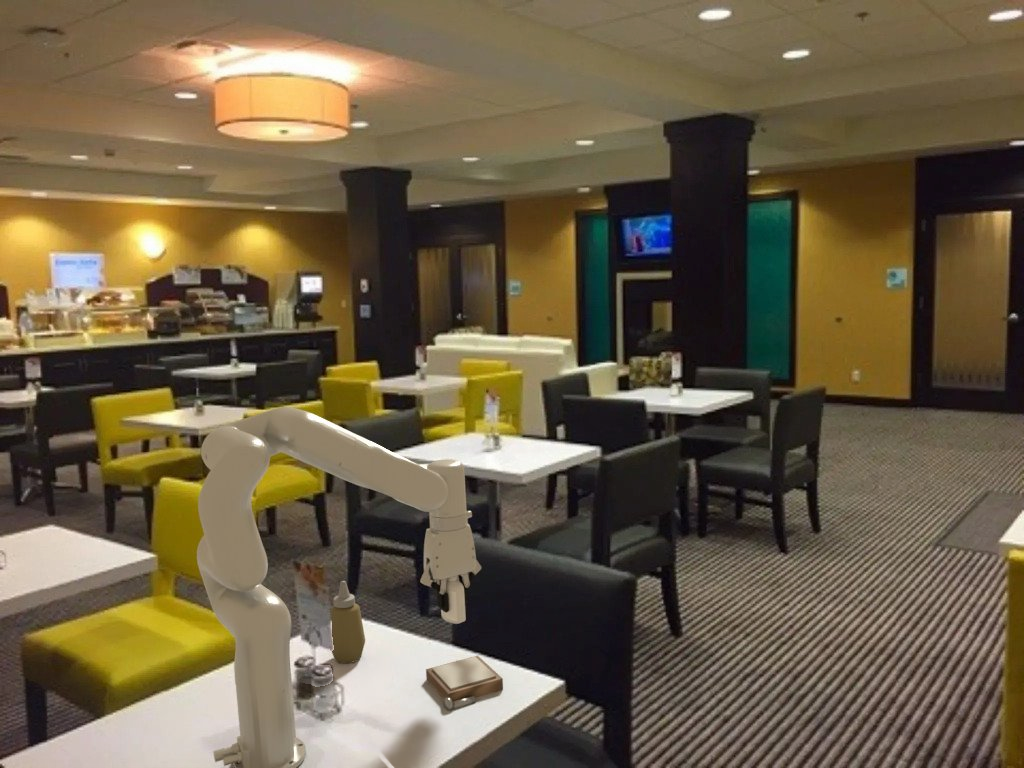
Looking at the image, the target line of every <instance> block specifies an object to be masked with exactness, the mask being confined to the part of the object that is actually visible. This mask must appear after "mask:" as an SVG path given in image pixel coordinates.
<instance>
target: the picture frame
mask: <svg viewBox="0 0 1024 768" xmlns="http://www.w3.org/2000/svg"><path fill="white" fill-rule="evenodd" d="M425 676H426V681H427V682H428V683H429V684H430V686H431V687H432V688H433V689H434V690H435V691H436V692H437V693H438V694H439V696H440V697H441V698H442V699H444V698H447V697H450V698H451V699H452V701H456V700H460V699H463V698H467V697H471V696H474V697H475V698H478V697H482V696H485V695H488V694H492V693H496V692H498V691H502V690H504V683H503V679H504V678H503V677H502V676H501V675H500V674H498V673H497V671H495V670H494V669H493V668H492V667H491V666H490V665H489V664H487V662H485V661H484V660H483V658H481V657H480V656H479V655H474V656H471V657H468V658H463V659H459V660H456V661H451V662H449V663H448V662H447V663H445V664H442V665H438V666H433V667H429V668H426V669H425Z"/></svg>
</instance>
